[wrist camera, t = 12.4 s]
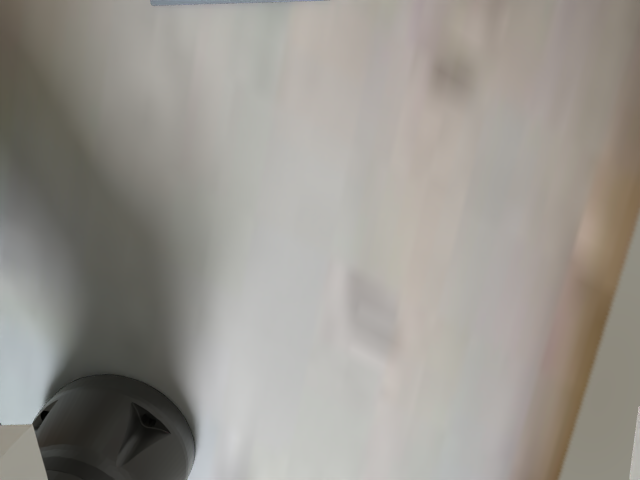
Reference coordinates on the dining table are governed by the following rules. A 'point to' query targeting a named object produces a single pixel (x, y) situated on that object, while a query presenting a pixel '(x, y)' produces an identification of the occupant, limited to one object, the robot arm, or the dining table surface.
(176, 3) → the mat
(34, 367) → the dining table surface
